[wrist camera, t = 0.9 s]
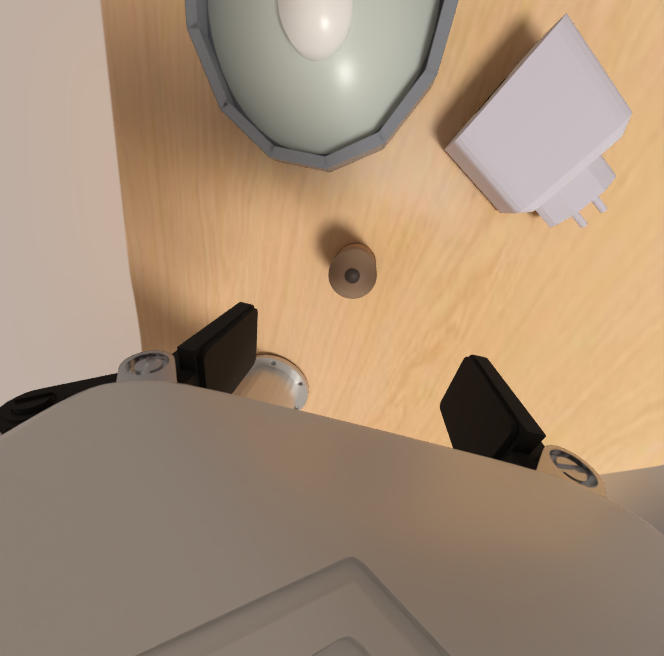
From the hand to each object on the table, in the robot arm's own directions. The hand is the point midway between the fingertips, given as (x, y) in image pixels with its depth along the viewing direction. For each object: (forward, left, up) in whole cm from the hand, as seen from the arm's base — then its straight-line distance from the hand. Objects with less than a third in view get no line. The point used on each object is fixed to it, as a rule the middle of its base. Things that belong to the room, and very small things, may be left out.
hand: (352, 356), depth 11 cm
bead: (-1, +1, -22) cm, 22 cm away
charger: (+13, -14, -22) cm, 29 cm away
